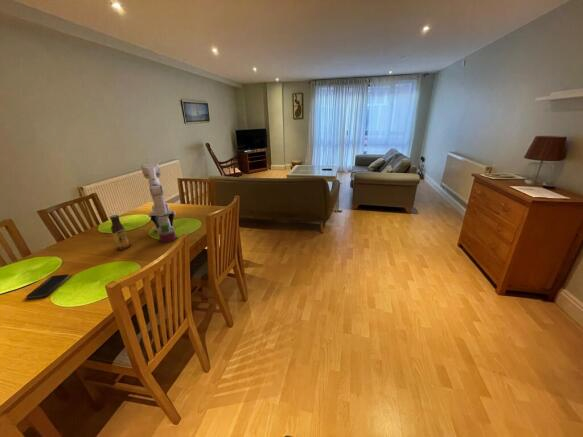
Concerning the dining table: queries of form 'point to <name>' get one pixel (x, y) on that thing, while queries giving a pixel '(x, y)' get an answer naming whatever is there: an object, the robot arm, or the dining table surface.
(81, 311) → the dining table surface
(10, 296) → the dining table surface
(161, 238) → the jar
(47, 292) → the phone
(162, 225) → the block
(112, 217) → the sauce bottle
